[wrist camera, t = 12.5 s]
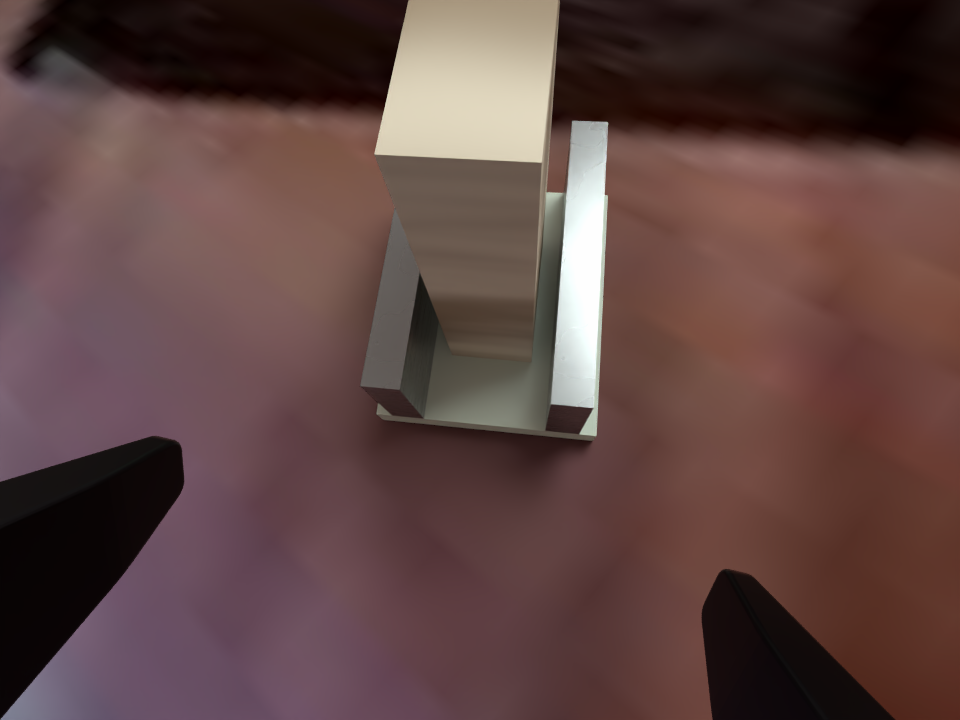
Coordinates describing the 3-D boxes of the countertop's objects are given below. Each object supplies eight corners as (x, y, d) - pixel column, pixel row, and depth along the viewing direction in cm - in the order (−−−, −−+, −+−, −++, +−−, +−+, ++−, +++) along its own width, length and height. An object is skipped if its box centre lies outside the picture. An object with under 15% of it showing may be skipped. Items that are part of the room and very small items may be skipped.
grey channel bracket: (592, 440, 19) (615, 410, 15) (383, 419, 20) (340, 384, 16) (604, 209, 22) (626, 122, 18) (421, 200, 23) (396, 114, 19)
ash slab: (531, 362, 19) (541, 162, 9) (451, 354, 20) (374, 154, 9) (542, 244, 21) (562, -42, 11) (468, 239, 21) (417, -42, 11)
